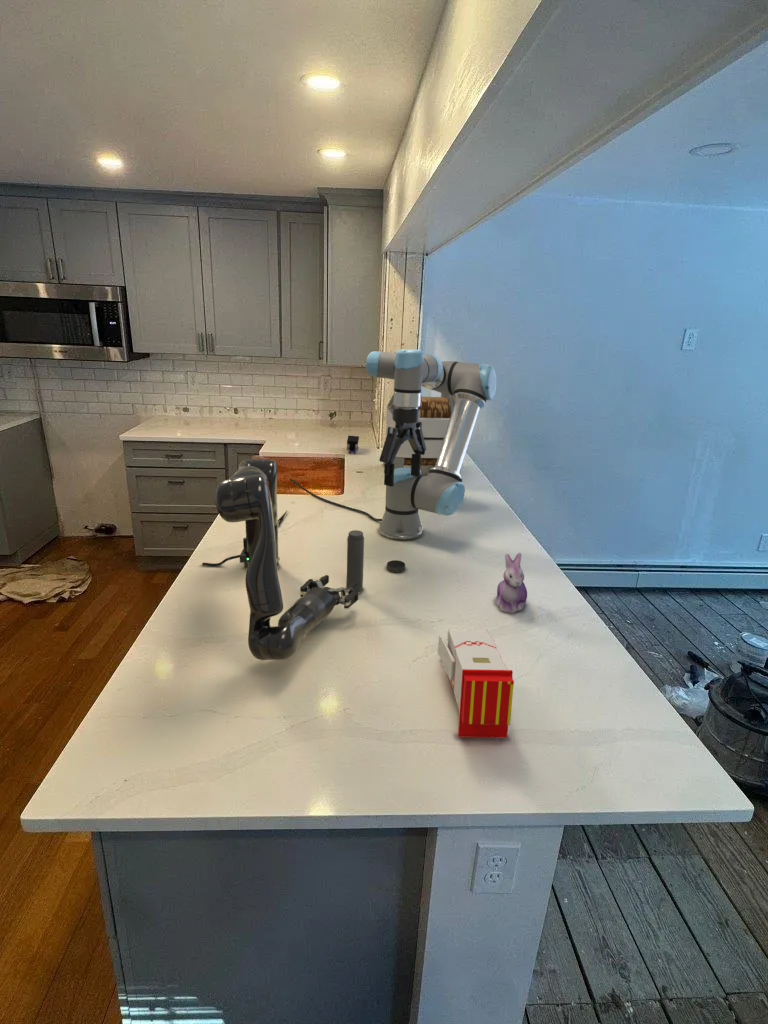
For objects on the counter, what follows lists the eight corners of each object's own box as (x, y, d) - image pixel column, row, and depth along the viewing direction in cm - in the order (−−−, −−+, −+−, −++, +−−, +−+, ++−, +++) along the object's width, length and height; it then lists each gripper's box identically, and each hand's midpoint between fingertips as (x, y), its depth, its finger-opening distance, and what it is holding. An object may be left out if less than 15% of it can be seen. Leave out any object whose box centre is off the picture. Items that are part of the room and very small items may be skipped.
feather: (294, 505, 227) (296, 501, 226) (277, 528, 200) (280, 524, 199) (290, 503, 226) (292, 499, 226) (273, 526, 200) (276, 521, 199)
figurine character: (358, 457, 304) (359, 447, 317) (358, 443, 301) (359, 434, 314) (345, 456, 304) (347, 447, 317) (346, 443, 300) (347, 434, 314)
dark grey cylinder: (345, 586, 161) (346, 530, 155) (360, 585, 162) (362, 529, 156) (347, 593, 157) (349, 536, 151) (363, 592, 158) (365, 535, 152)
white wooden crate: (382, 463, 289) (386, 382, 275) (445, 464, 293) (451, 384, 279) (390, 482, 257) (394, 392, 243) (460, 483, 261) (468, 394, 247)
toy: (488, 613, 130) (523, 677, 101) (484, 667, 133) (517, 744, 104) (435, 612, 130) (455, 676, 101) (432, 666, 133) (451, 743, 103)
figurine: (509, 617, 148) (516, 565, 143) (485, 599, 156) (491, 550, 151) (537, 610, 152) (544, 559, 147) (512, 593, 161) (519, 544, 156)
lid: (405, 573, 171) (406, 568, 170) (386, 572, 170) (387, 567, 170) (404, 565, 176) (404, 560, 175) (386, 564, 176) (386, 559, 175)
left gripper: (338, 601, 132) (366, 574, 146) (285, 588, 137) (318, 563, 151) (337, 629, 134) (366, 600, 149) (286, 615, 139) (318, 588, 154)
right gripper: (419, 400, 169) (414, 469, 176) (368, 410, 150) (365, 487, 157) (441, 404, 165) (435, 474, 172) (391, 414, 145) (387, 492, 153)
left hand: (341, 581), depth 150 cm, fingers open, 8 cm apart
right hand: (402, 480), depth 164 cm, fingers open, 13 cm apart
